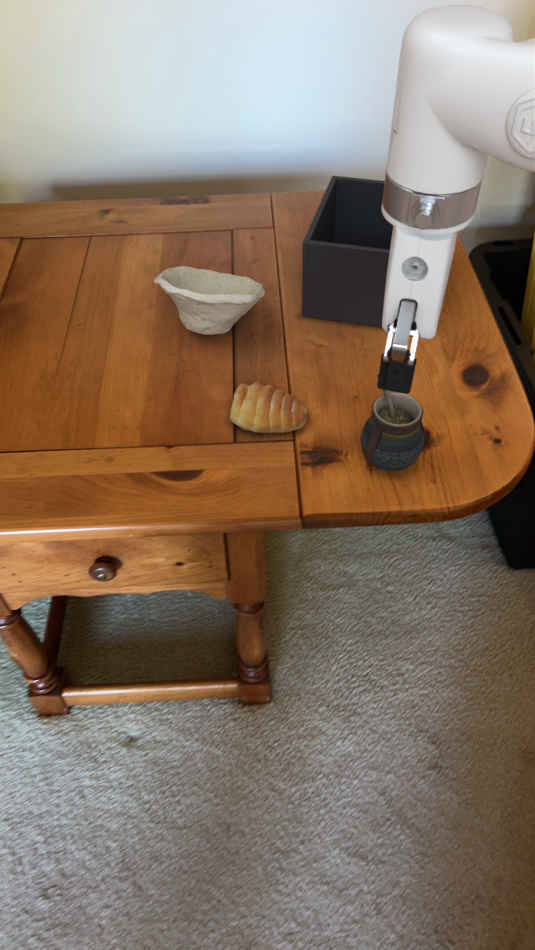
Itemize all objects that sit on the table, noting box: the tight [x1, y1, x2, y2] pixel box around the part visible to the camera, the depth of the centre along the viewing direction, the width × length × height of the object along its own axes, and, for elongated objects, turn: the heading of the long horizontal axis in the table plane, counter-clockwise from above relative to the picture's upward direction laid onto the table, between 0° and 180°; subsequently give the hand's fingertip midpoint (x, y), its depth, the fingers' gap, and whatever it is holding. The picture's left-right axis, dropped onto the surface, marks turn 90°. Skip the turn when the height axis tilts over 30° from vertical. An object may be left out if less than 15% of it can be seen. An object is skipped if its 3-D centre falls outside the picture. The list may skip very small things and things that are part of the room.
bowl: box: [153, 265, 266, 336], centre depth 91 cm, size 15×14×10 cm
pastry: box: [229, 381, 309, 434], centre depth 81 cm, size 9×7×4 cm
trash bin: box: [301, 175, 393, 329], centre depth 95 cm, size 17×19×12 cm
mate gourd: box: [360, 373, 426, 473], centre depth 74 cm, size 7×8×10 cm
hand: (400, 357), depth 66 cm, fingers open, 9 cm apart
